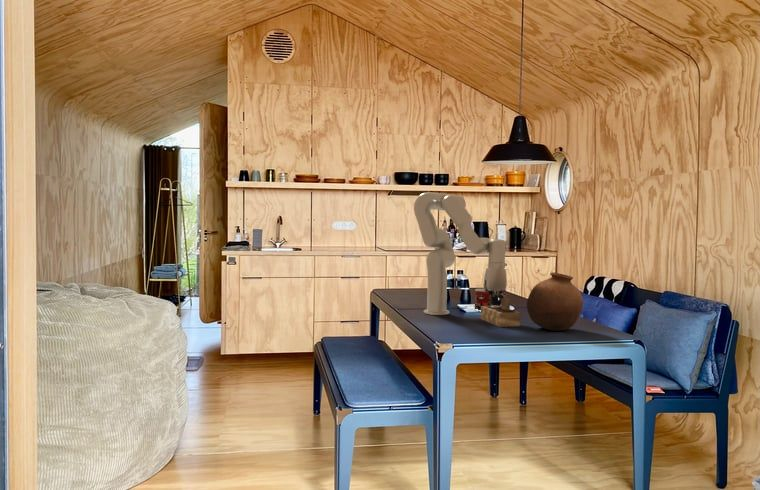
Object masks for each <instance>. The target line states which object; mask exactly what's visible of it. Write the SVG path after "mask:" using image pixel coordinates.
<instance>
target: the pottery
mask: <svg viewBox="0 0 760 490" xmlns="http://www.w3.org/2000/svg"><path fill="white" fill-rule="evenodd" d="M550 276H551V277H550V278H547V279H543V280H542V281H540V282H538V283H536V284H535V285H534V286H533V287H532V289H531V290H530V293H529V294H528V297H527V300H526V311H527V313H528V316H529V318H530V320H531V322H533V323H534V324H535V325H537V326H538V327H541V328H543V329H545V330H548V331H554V332H555V331H558V332H559V331H564V330H568V329H570V328H572V327H573V326H574V325H575V324H576V322H577V321H578V319H579V318H580V315H581V314H582V311H583V308H584V298H583V295H582V292H581V291H580V290H579V289H578V288H577V287H576V286H575V285H574V284H573V283H572V282H571V281H572V280H573V279H574V276H571V275H567V274H564V273H559V272H553V271H551V272H550Z"/></svg>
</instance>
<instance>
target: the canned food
mask: <svg viewBox="0 0 760 490" xmlns="http://www.w3.org/2000/svg"><path fill="white" fill-rule="evenodd" d="M484 289H485V288H475V290H474V310H475V309H478V310H481V306H490V305H492V304H491V296H490V294H489V293H487V292H484Z"/></svg>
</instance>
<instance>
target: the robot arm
mask: <svg viewBox="0 0 760 490" xmlns="http://www.w3.org/2000/svg"><path fill="white" fill-rule="evenodd" d="M466 206H467V203H466V200H465V198H464V197H463V196H461V195H459V194H449V193H443V192H442V193H441V192H433V191H432V192H431V191H430V192H429V191H428V192H427V191H426V192H423V193H421V194H419V195H418V196H417V198H416V199H415V201H414V203H413V211H414V215H415V218H416V222H417V224H418V228H419V231H420V234H421V238H422V241H423V244H424V245H425V246H426V247H427V248H434V249H433V250H431V251H430V252H428V254H427V255H426V260H425V261H426V268H427V289H426V290H427V291H426V293H427V294H426V296H427V297H426V309H424V310H423V313H424V314H425V315H432V316H434V315H435V316H446V315H449V314H450V310H448V309H447V300H448V299H447V297H448V296H447V295H448V294H447V293H448V290H447V289H448V274H447V268H450V267H452V266H453V265H454V263H455V262H456V255H455V251H454V250H455V249H454V247H453V244H452V242H451V238H450V235H449V234H448V232H447V231H446V230H445V229H443V228H441V227H438V225H437V223H436V220H435V217H434V216H433V213H432V211H433V210H437V211H444V212H445V213H446V214H447V216H448V217H449V218H450V220H452V222H453V224H454V225H455V227H456V229H457V231H458V234H459V238H460V239H461V241H462V242H463V244H464V245H465V246H466V248H467V249H468V251H470V252H471V253H472V254H475V255H483V254H488V261H487V263H488V264H487V268H485V271H484V277H483V282H482V283H483V286H482V288H483V289H484V292H487V293H489V294H490V296H491V305H498V303H499V297H500V295H501V294H503V293H507V290H506V289H507V286H508V285H507V284H508V283H507V278H508V277H507V271H506V270H507V269H506V267H507V266H508V264H507V263H506V248H507V247H506V246H507V244H506V240H504V239H500V238H493V239H492V238H488V237H479V236H478V234H477V233H476V232H475V230H474V229H473V226H472V221H473V217H472V215H471V214H470V213H469V211H468V210H467V209H466ZM431 210H432V211H431Z"/></svg>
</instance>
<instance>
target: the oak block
mask: <svg viewBox="0 0 760 490" xmlns="http://www.w3.org/2000/svg"><path fill="white" fill-rule="evenodd" d="M491 306H499V307H494V308H493V307H491ZM480 320H482V321H485V322H487V323H489V324H492V325H495V326H497V327H499V328H502V327H504V328H505V327H508V326H509V327H521V312H519V311H516V310H513V309H511V308H510V311H501V305H498V304H497V305H492V304H491V305H490V306H481V312H480Z"/></svg>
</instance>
